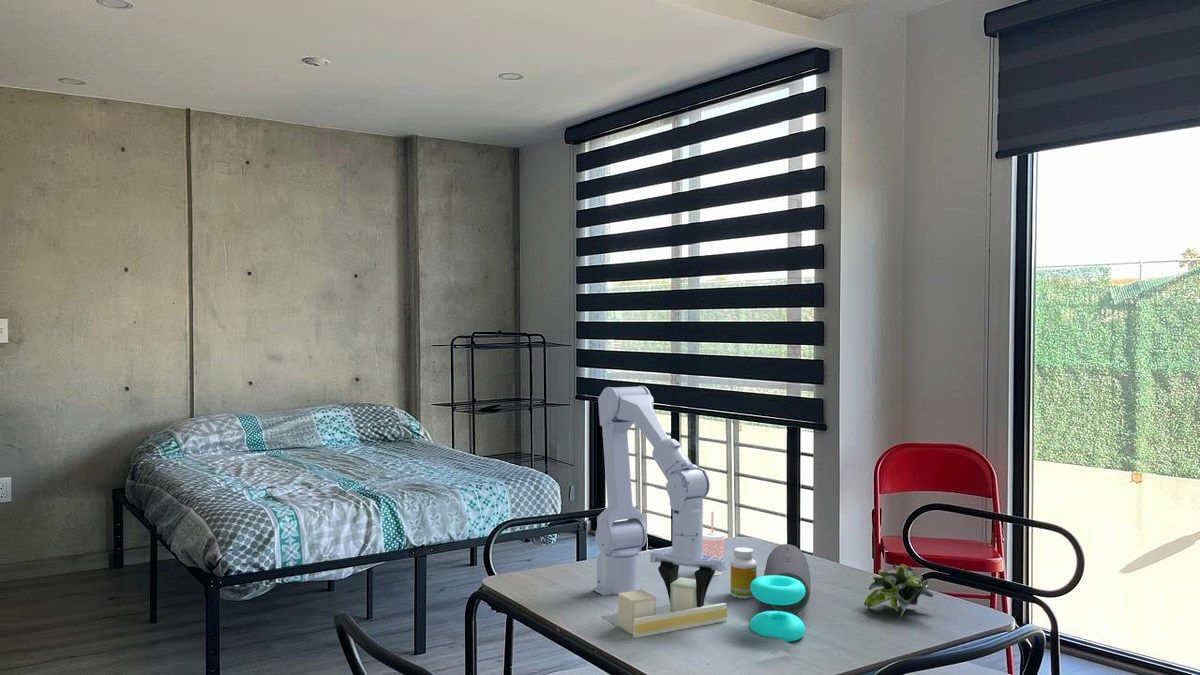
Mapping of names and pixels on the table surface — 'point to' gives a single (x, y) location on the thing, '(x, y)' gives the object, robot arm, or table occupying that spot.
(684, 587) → the sage carton
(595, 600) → the table surface
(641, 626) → the shelf board
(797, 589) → the donuts
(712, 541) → the beverage cup
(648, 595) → the beige block
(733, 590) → the supplement bottle
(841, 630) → the table surface
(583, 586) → the table surface
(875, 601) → the green leafy plant
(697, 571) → the robot arm
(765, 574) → the bluetooth speaker
